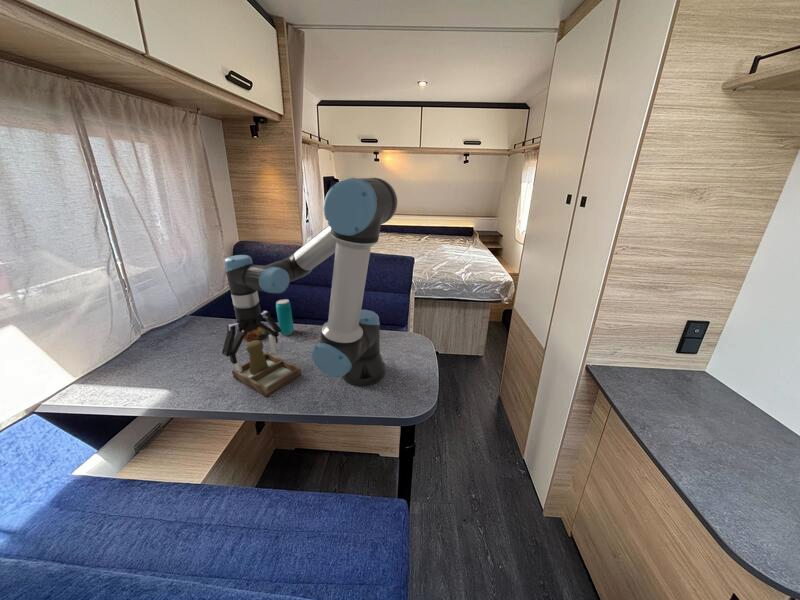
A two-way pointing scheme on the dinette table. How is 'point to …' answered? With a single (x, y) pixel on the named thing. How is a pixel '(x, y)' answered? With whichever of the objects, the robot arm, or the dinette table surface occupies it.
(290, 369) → the tray
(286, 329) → the beverage can
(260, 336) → the bread roll
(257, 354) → the olive rounded lobed piece
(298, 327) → the dinette table surface
